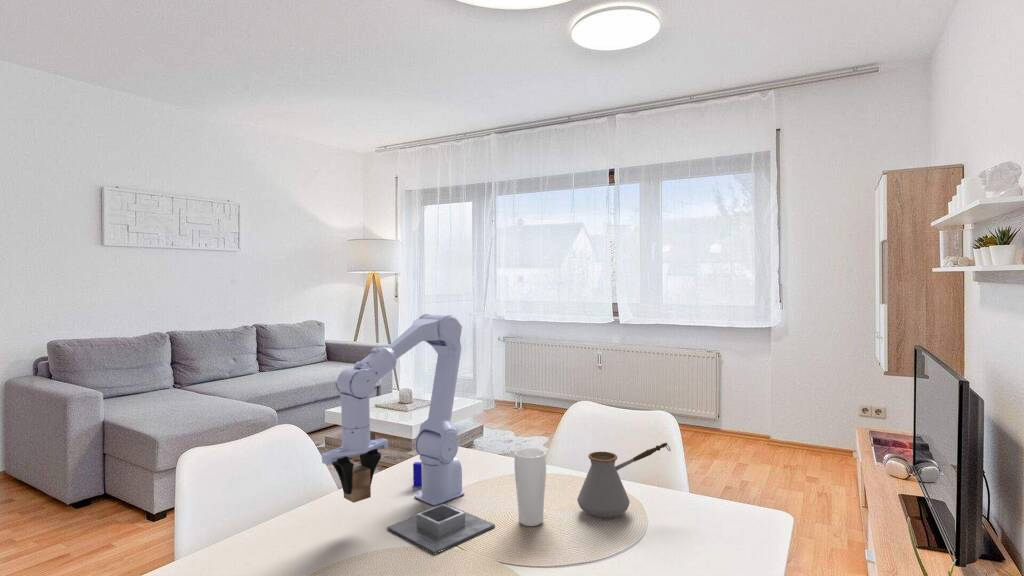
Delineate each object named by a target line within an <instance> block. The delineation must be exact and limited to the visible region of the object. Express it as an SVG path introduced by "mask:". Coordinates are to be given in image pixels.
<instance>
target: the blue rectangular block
mask: <svg viewBox="0 0 1024 576" xmlns="http://www.w3.org/2000/svg"><path fill="white" fill-rule="evenodd" d="M412 468H413V469H412V470H413V471H412V473H413V474H412V475H413V481H412V482H413V487H415V488H422V467H421V461H414V463H412Z"/></svg>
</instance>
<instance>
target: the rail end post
mask: <svg viewBox="0 0 1024 576" xmlns="http://www.w3.org/2000/svg"><path fill="white" fill-rule="evenodd" d="M371 488H372V485H371V486H370V469H369V468H367V467H364V466H362V465H361V464H358V465H354V466H353V471H352V490H351V494H346V493H344V492H343V499H345V500H347V501H349V502H351V503H356V502H357V503H358V502H360V501H363V500H366V499H369V498H371V496H372V495H371V494H372V493H371Z"/></svg>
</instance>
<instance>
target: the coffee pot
mask: <svg viewBox="0 0 1024 576" xmlns="http://www.w3.org/2000/svg"><path fill="white" fill-rule="evenodd" d="M663 448H666V450H667V451H668V452H671V448H670V446H669V445H668V442H663V443H660V445H655V447H651V448H650V449H649V448H648V449H646V450H645V451H643V452H641V453H640V454H638V455H636V456H634V457H633V458H631V459H628V460H627V461H624V462H622V463H619V464H618V465H616V461H617V460H618V455H617V454H616V453H614V452H610V451H609V452H608V451H593V452H591V453H589V454H588V456H587V458H588V459H589V460H590V464H591V465H590V467H589V470H588V472H587V475H586V477H585V480H584V481H583V484H582V487H581V489H580V492H579V493H578V495H577V500H576V501H577V504H578V506H579V508H580V509H581V510H582V512H584V513H586V516H588V517H589V518H591V519H594V520H598V521H613V520H614V521H615V520H616V519H619V518H620V517H622V515H623V514H625V512H627V510H628V509H629V507H630V503H631V502H630V499H629V496H628V494H627V492H626V489H625V486H624V485H623V484H624V483H623V482H622V480H621V478H620V475H619V473H618V471H620V469H623V468H625V467H627V466H629V465H631V464H632V463H635V462H637V461H640V460H642V459H644V458H647V457H649V456H651V455H652V454H654V453H656V452H657V451H658V452H659V451H661V449H663Z"/></svg>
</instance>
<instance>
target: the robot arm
mask: <svg viewBox="0 0 1024 576" xmlns="http://www.w3.org/2000/svg"><path fill="white" fill-rule="evenodd" d="M462 329H463V326H462V324H461V323H460V321H459V320H458V319H457V317H456V316H454V315H452V314H447V315H445V314H443V315H442V314H430V313H424V314H422V315H420V316H419V317H418V318H416V319H415V320H413V321H412V325H410V327H409V328H407V329H406V330H405V331H404V332H403V333H402V334H400V335H399V336H398V337H397V338H396V339H395V340H394V341H393V342H391V343H390V344H389V345H388V346H387V347H385V346H379V347H373V348H372V349H371V350H370V352H371V353H369V354H368V355H367V356H365V358H363V359H362V360H360V361H356V362H355V363H354V366H353V368H352V367H351V368H350V367H349V368H346V369H343V370H342V371H341V372H340V373H339V375H338V377H337V379H336V382H334V387H335V389H336V391H337V393H338V394H339V396H340V397H339V398H340V402H341V403H340V405H341V406H340V409H341V414H340V415H341V446H339V447H337V448H335V449H332V450H329V451H327V452H323V453H321V463H322V464H324V465H326V466H327V465H331V464H332V466H333V468H334V469H335V471H336V473H337V475H338V478H339V481H340V483H341V484H340V485H341V487H342V491H343V494H344V493H346V494H351V490H352V471H353V467H354V466H355V464H354V463H353V462H351V459H350V458H353V457H354V458H355V457H357V456H359V460H360V465H362V466H364V467H367V468H369V469H370V486H371V487H372V482H373V479H374V478H373V477H374V473H375V471H376V469H377V465H378V464H379V461H380V460H381V458H382V454H381V452H379V451H380V450H387V449H389V439H387V438H377V439H371V426H370V425H371V424H370V422H371V420H370V419H371V418H370V395H372V394H373V392H374V390H375V387H376V384H377V383H378V382H379V381H380V380H381V379H383V378H384V377H385V376H386V375H387V374H389V373H390V372H391V371H393V370H394V369H395V368H396V366H397V360H398V359H399V358H400V357H402V356H403V355H405V354H406V353H408V352H409V351H410V350H412V349H413V348H414V347H416V346H417V345H419V344H420V343H421V342H426V343H427V344H428V345H430V346H431V347H432V348H433V349H434V351H435V353H437V359H436V366H435V370H434V371H435V372H434V378H433V385H432V391H431V397H430V405H429V412H428V418H427V419H426V420H424V421H423V422H422V423H421V424H420V426H419V431H418V434H417V435H416V437H415V439H414V450H415V452H416V453H417V454H418V455H419V460H420V462H421V467H422V487H421V492H419V493H416V494H414V498H415V499H418V500H420V501H422V502H425V503H427V504H428V505H431V506H438V505H441V504H444V503H446V502H448V501H450V500H453V499H456V498H458V497H461V496H463V495H465V491H463V468H462V465H461V464H462V463H461V461H460V460H459V458H458V457H456V456H457V454H458V449H459V443H458V429H457V428H456V427H455V426H454V424H453V423H452V413H453V408H454V400H455V394H456V388H457V387H456V386H457V379H458V374H459V367H460V360H461V353H462V344H461V335H462V331H463V330H462Z"/></svg>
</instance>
